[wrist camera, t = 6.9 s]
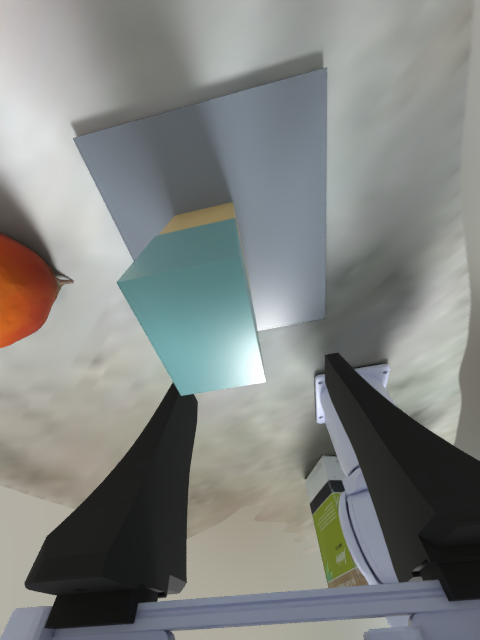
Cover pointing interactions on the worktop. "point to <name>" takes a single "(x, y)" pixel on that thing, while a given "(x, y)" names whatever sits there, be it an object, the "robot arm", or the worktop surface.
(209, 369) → the teal brick
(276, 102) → the baseplate
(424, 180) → the worktop surface
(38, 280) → the fruit
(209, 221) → the mustard brick
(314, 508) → the tea box
